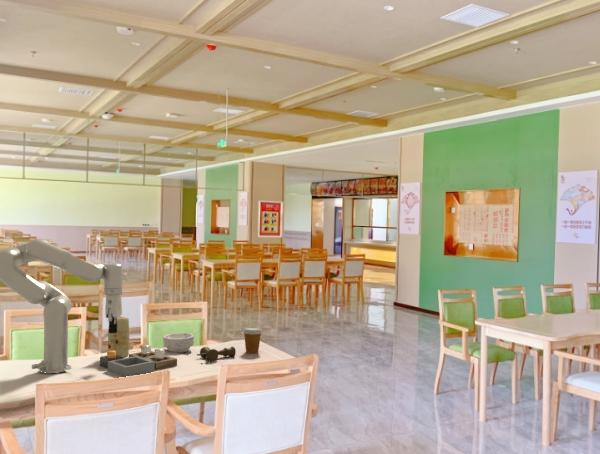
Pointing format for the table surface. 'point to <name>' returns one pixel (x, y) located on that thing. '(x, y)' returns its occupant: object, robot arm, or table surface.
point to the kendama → (216, 353)
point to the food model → (120, 338)
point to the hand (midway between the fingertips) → (113, 332)
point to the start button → (111, 354)
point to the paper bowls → (178, 342)
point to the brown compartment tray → (158, 364)
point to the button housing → (105, 360)
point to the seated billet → (145, 350)
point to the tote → (131, 366)
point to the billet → (159, 354)
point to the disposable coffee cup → (252, 339)
